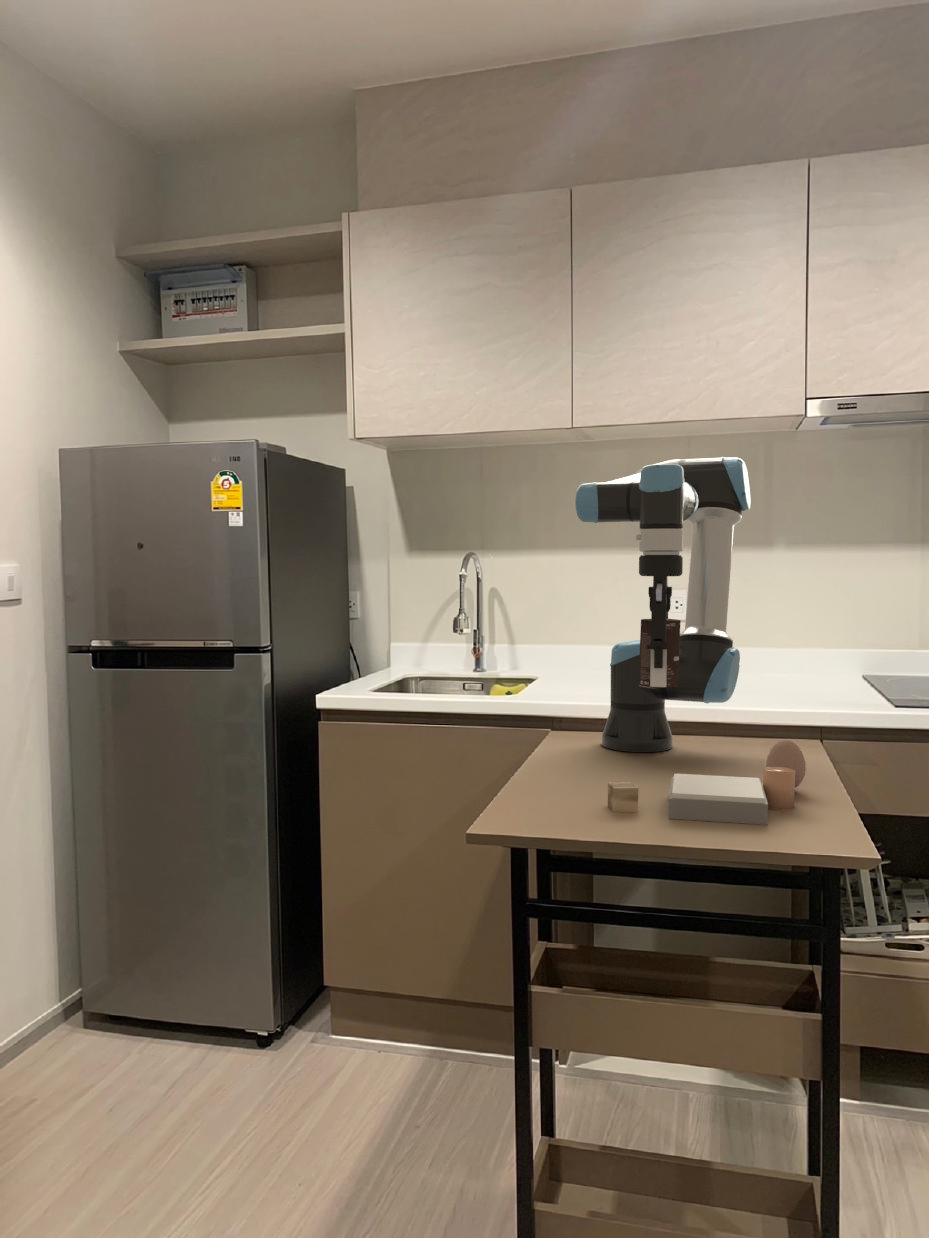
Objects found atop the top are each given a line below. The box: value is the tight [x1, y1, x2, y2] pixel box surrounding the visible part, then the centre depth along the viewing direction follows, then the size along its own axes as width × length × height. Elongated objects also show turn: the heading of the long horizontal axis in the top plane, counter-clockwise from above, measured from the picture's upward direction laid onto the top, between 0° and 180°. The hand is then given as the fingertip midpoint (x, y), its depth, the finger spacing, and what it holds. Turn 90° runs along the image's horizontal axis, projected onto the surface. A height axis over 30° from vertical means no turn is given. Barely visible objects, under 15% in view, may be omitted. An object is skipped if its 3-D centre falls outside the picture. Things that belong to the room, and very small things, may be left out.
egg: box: [765, 738, 807, 789], centre depth 170 cm, size 7×7×9 cm
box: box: [639, 617, 682, 689], centre depth 170 cm, size 6×4×12 cm
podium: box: [667, 773, 769, 826], centre depth 158 cm, size 15×15×4 cm
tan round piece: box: [762, 766, 796, 811], centre depth 160 cm, size 5×5×6 cm
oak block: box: [607, 781, 639, 813], centre depth 158 cm, size 4×4×4 cm
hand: (659, 683), depth 171 cm, fingers closed on box, 7 cm apart
